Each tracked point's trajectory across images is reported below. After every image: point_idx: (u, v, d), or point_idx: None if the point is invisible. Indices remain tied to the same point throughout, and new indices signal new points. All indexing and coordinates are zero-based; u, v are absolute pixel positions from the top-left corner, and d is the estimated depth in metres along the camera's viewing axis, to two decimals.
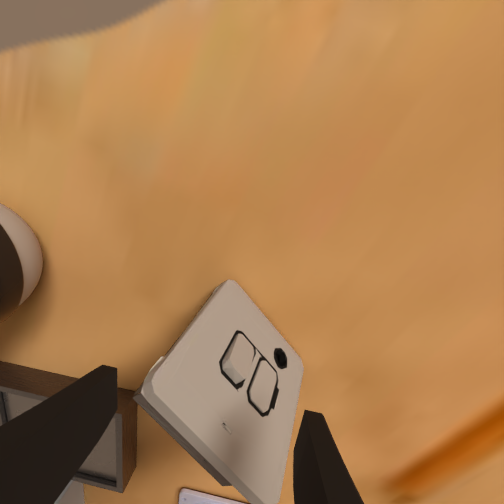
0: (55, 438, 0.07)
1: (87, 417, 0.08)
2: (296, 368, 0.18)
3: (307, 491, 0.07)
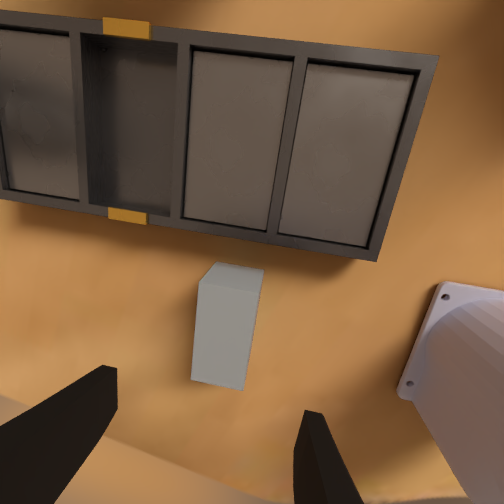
0: (55, 438, 0.07)
1: (87, 417, 0.08)
2: None
3: (307, 491, 0.07)
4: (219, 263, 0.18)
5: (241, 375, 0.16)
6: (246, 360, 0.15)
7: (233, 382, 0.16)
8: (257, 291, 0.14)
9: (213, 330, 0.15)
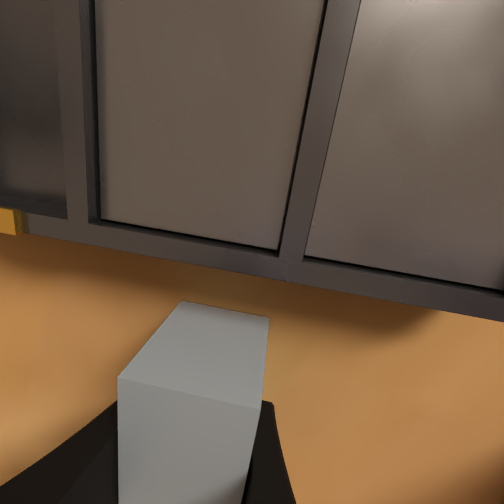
0: (115, 453, 0.07)
1: None
2: None
3: None
4: (184, 307, 0.09)
5: None
6: None
7: None
8: (257, 403, 0.06)
9: (157, 474, 0.07)
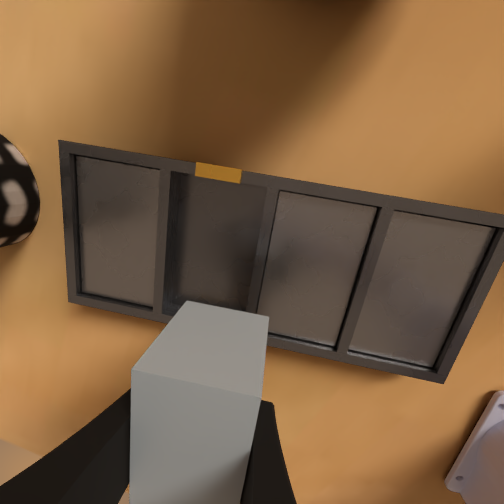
0: (115, 453, 0.07)
1: None
2: None
3: (246, 476, 0.07)
4: (189, 307, 0.10)
5: None
6: None
7: None
8: (258, 392, 0.06)
9: (166, 459, 0.07)
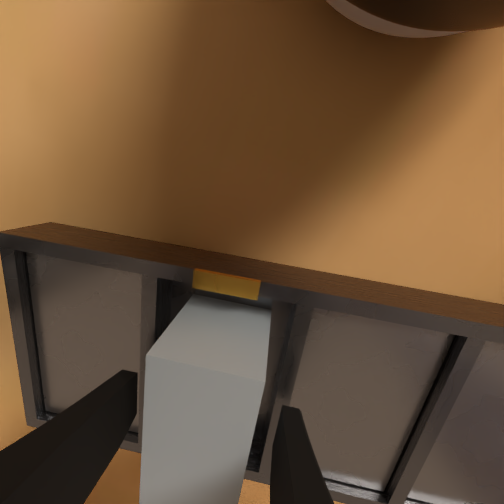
0: (82, 445, 0.07)
1: (110, 422, 0.08)
2: None
3: (279, 484, 0.07)
4: (196, 300, 0.10)
5: None
6: (236, 490, 0.08)
7: None
8: (262, 376, 0.07)
9: (176, 439, 0.08)
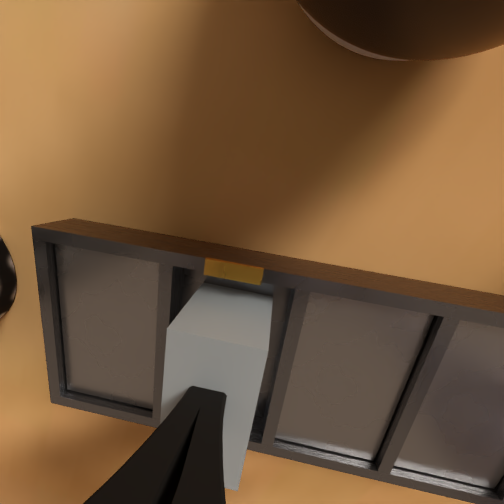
0: (176, 468, 0.07)
1: None
2: None
3: None
4: (206, 287, 0.12)
5: (236, 470, 0.10)
6: (243, 449, 0.10)
7: None
8: (265, 347, 0.08)
9: None
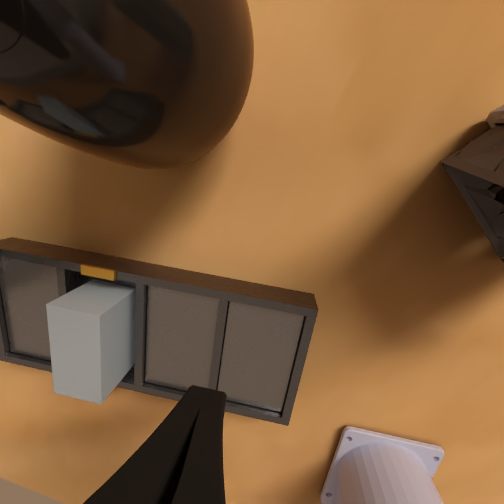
0: (176, 468, 0.07)
1: None
2: None
3: None
4: (92, 282, 0.19)
5: (98, 390, 0.17)
6: (99, 376, 0.16)
7: (91, 396, 0.17)
8: (100, 314, 0.15)
9: (66, 348, 0.16)
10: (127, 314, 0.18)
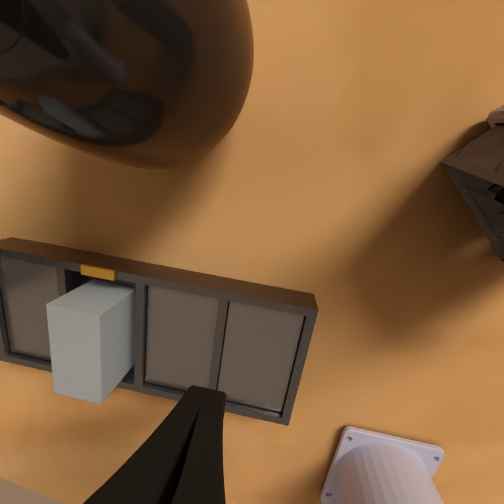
0: (176, 468, 0.07)
1: None
2: None
3: None
4: (92, 282, 0.19)
5: (98, 390, 0.17)
6: (99, 376, 0.16)
7: (91, 396, 0.17)
8: (100, 314, 0.15)
9: (66, 348, 0.16)
10: (127, 314, 0.18)
